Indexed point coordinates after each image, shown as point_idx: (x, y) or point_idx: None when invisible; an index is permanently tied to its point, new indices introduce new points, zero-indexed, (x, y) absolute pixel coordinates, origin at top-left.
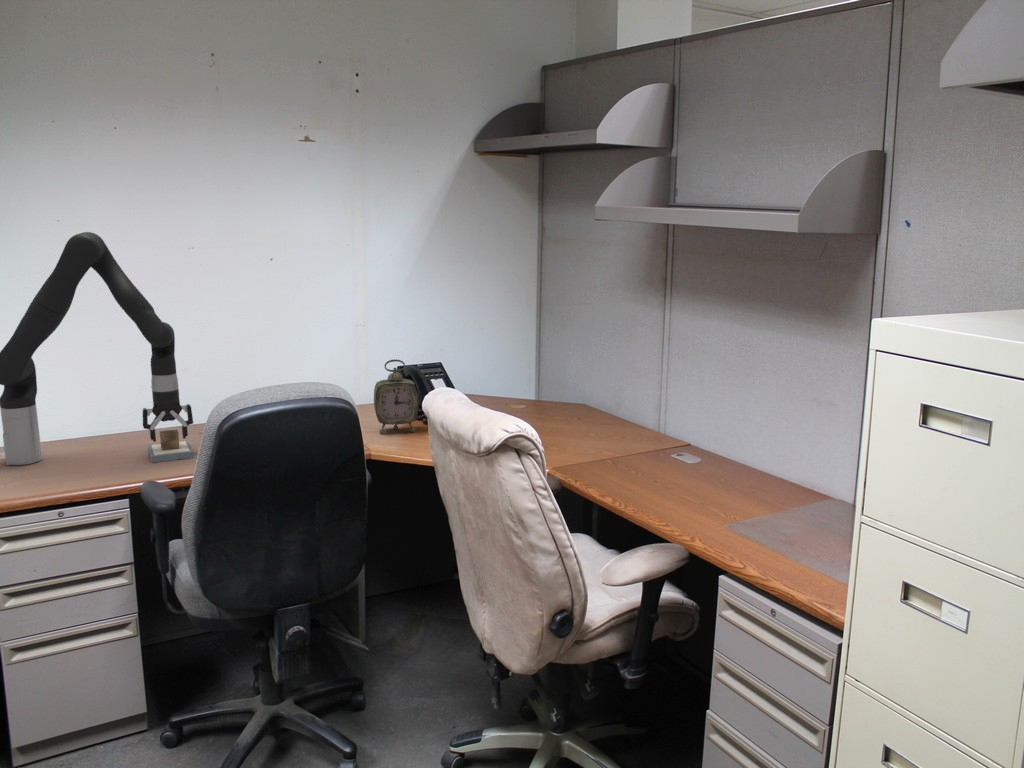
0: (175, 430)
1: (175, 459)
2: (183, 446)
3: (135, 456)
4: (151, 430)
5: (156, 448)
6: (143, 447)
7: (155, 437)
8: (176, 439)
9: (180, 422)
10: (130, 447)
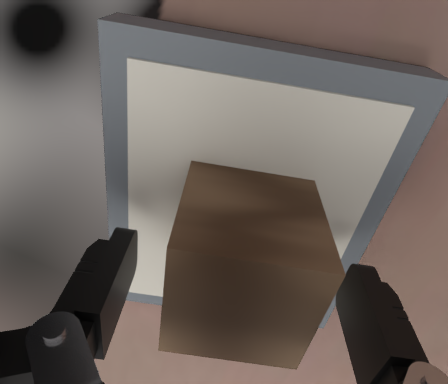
0: (175, 330)
1: (257, 37)
2: (155, 199)
3: (408, 260)
4: (417, 366)
5: None
6: (306, 351)
7: (366, 288)
8: (199, 209)
9: (93, 378)
10: (348, 371)
